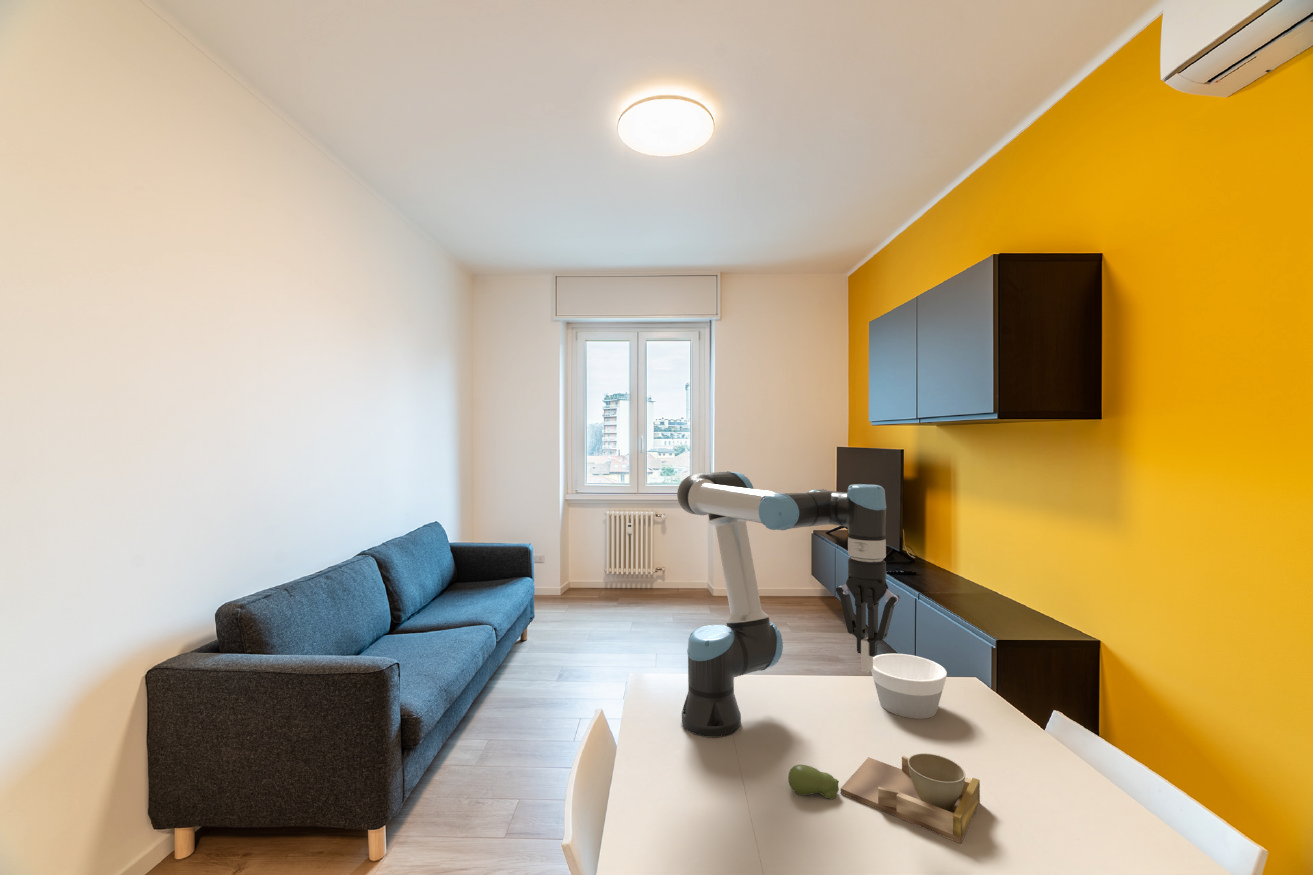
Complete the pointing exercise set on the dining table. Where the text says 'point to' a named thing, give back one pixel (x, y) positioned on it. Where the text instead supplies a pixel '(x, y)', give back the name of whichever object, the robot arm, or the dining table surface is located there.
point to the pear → (812, 781)
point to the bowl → (908, 684)
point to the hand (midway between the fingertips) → (867, 669)
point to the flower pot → (936, 779)
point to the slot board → (911, 798)
